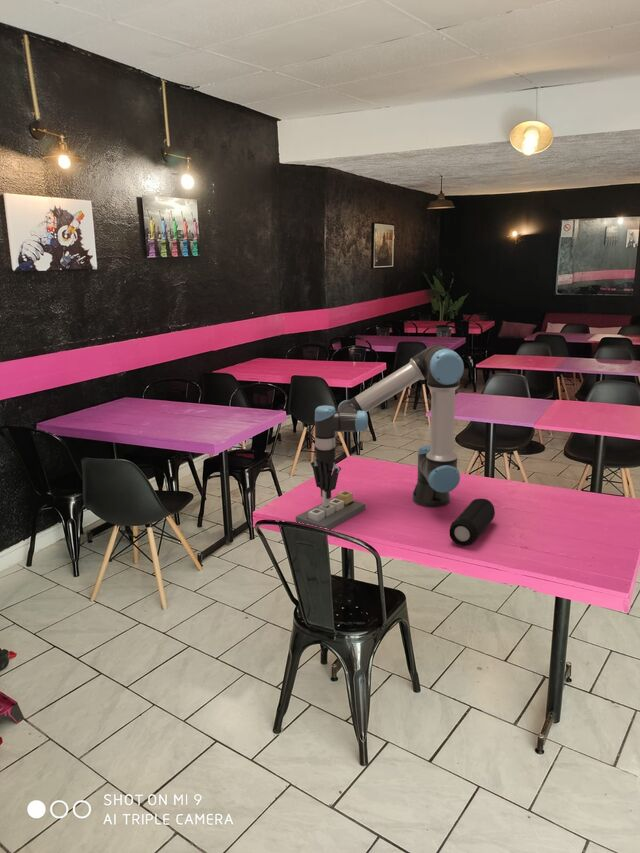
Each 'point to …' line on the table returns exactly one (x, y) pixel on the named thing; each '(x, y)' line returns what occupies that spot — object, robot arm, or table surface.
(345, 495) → the key
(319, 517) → the key
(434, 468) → the robot arm
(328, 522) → the keypad
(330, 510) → the key
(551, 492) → the table surface
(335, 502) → the key
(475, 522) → the portable speaker
